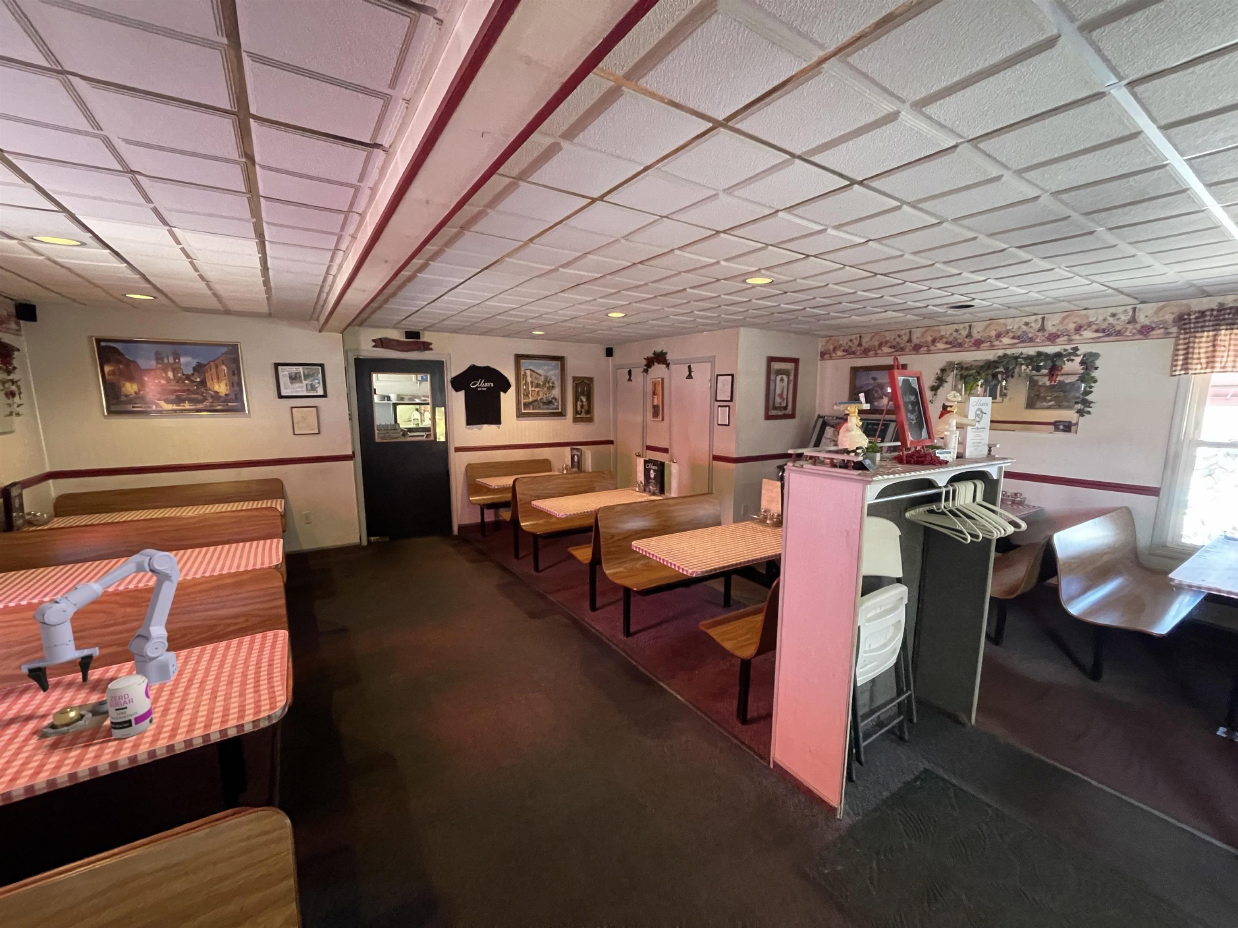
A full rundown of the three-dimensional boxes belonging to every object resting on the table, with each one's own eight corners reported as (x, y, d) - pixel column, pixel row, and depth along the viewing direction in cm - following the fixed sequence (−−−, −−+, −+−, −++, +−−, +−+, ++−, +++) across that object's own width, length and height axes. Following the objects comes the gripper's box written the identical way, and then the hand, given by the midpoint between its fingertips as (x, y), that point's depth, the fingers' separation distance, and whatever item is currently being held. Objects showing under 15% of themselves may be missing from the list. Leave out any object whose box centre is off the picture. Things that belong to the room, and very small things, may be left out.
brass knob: (82, 717, 138) (80, 700, 138) (79, 725, 135) (77, 709, 134) (56, 724, 135) (54, 708, 134) (52, 733, 131) (49, 716, 131)
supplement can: (151, 716, 140) (144, 669, 138) (155, 728, 135) (148, 679, 133) (111, 730, 134) (103, 682, 132) (114, 744, 128) (106, 693, 126)
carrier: (127, 696, 149) (126, 686, 148) (101, 727, 135) (99, 716, 134) (69, 708, 143) (67, 697, 142) (35, 742, 129) (33, 730, 128)
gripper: (98, 629, 144) (104, 670, 146) (24, 644, 135) (32, 688, 137) (92, 638, 139) (99, 680, 141) (15, 655, 130) (24, 700, 132)
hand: (66, 685), depth 138 cm, fingers open, 7 cm apart
